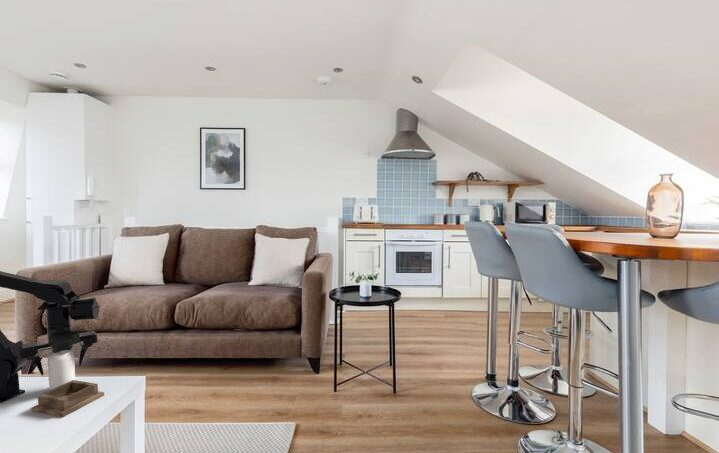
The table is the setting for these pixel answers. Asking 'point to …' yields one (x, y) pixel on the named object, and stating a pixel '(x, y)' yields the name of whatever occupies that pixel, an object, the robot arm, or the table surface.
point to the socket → (67, 398)
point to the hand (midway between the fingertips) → (61, 370)
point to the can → (61, 368)
